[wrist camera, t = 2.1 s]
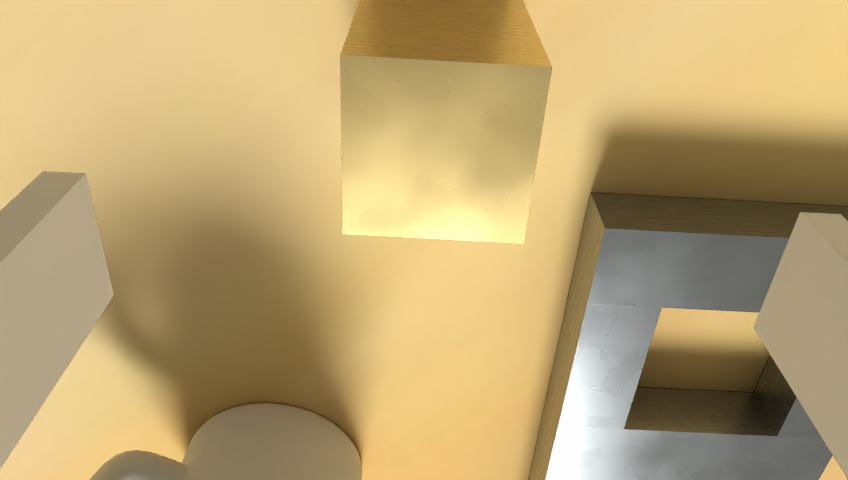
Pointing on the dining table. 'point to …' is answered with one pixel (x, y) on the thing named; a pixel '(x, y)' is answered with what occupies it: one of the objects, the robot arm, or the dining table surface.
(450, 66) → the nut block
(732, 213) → the square hole plate
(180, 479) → the mug
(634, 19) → the dining table surface
